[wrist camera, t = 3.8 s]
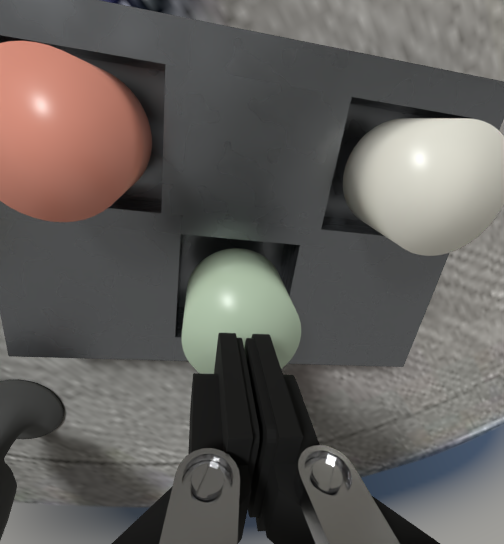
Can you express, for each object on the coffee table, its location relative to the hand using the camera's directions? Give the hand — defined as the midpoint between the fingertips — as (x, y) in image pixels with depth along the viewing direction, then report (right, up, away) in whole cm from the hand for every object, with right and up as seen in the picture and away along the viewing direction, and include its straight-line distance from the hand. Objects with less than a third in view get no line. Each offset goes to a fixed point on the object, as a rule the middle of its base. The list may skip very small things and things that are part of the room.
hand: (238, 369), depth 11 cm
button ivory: (+6, +7, +3) cm, 10 cm away
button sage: (0, +2, +4) cm, 5 cm away
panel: (0, +6, +6) cm, 9 cm away
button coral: (-5, +8, +1) cm, 10 cm away
